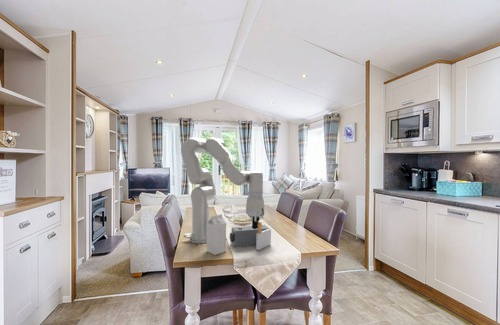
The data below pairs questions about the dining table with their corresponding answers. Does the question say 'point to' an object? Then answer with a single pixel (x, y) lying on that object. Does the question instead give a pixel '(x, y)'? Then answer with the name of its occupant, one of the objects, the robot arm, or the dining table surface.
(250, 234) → the box
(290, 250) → the dining table surface
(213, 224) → the milk carton
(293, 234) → the dining table surface
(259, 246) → the side door
